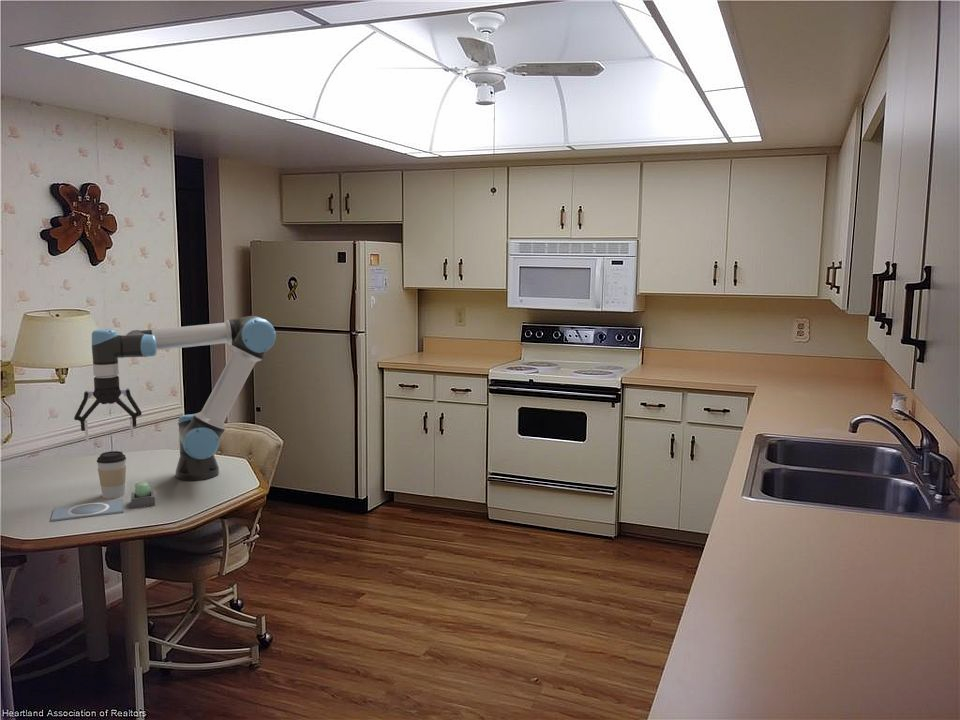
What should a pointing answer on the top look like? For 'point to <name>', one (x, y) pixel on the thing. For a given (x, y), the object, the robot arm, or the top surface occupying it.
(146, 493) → the button
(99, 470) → the coffee cup
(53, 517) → the slate board
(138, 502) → the button housing
